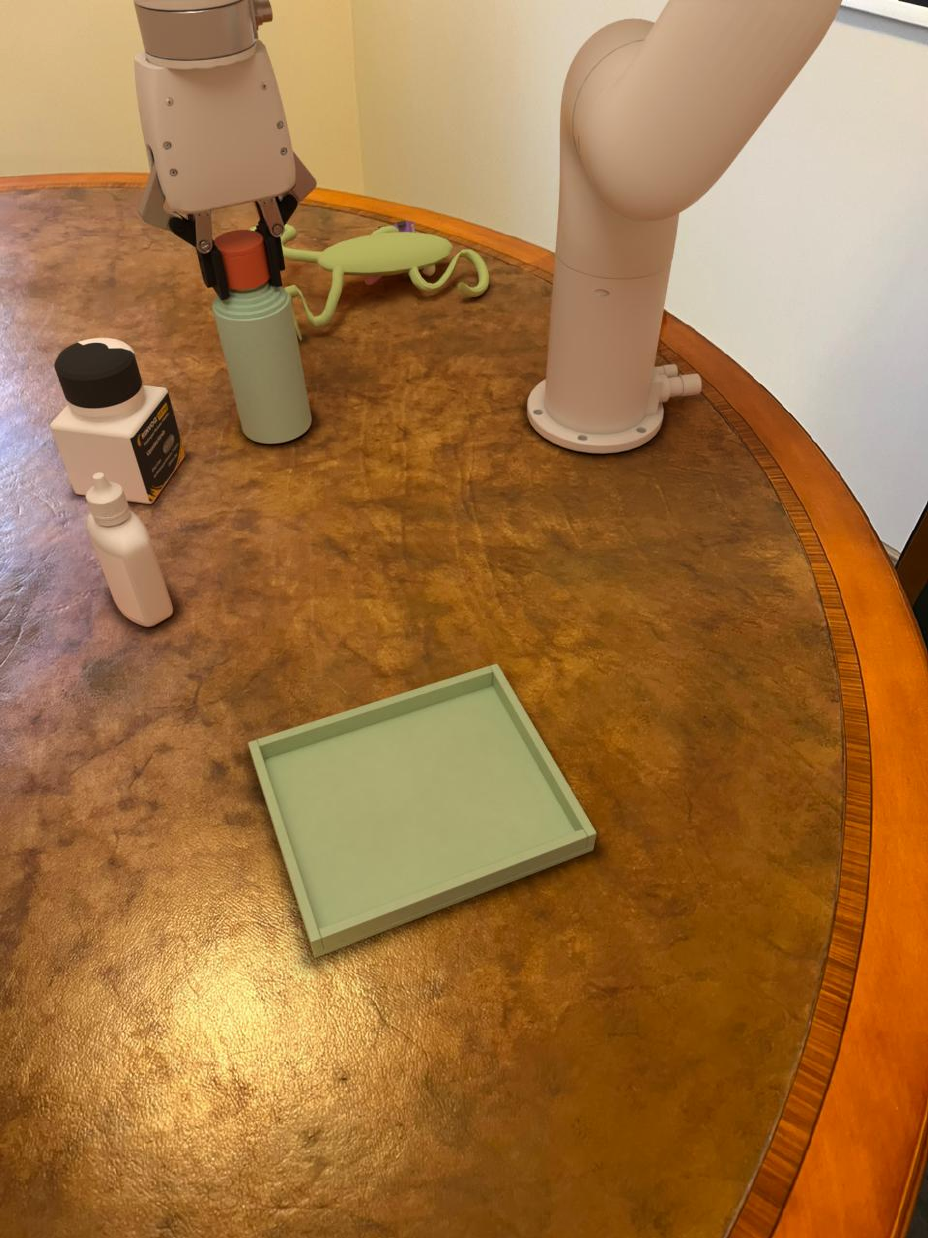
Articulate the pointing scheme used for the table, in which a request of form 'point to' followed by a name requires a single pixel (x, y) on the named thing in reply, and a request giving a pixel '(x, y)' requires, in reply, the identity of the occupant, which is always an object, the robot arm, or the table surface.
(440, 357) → the table surface
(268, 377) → the bottle
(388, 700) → the tray
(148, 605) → the eye dropper bottle
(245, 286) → the cap
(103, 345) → the medicine bottle
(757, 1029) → the table surface
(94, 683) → the table surface
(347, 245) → the figurine
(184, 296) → the table surface
